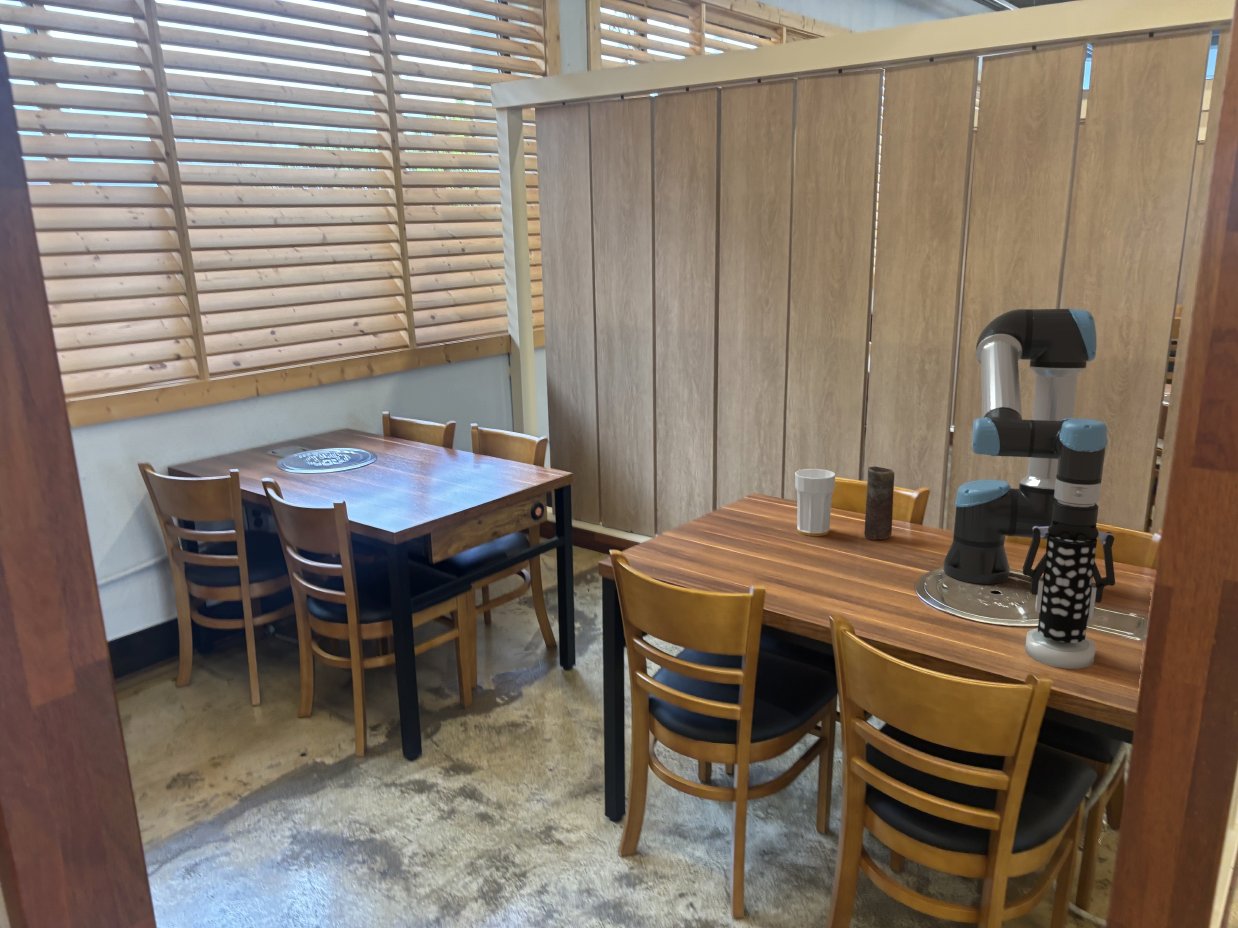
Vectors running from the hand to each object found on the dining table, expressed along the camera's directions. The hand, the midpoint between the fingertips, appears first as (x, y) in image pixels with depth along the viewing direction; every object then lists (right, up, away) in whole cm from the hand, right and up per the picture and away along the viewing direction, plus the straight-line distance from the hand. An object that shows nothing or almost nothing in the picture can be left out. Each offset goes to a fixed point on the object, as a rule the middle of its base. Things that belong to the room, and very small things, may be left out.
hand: (1063, 613), depth 161 cm
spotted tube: (0, -4, +1) cm, 5 cm away
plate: (0, -9, +2) cm, 9 cm away
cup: (-30, +9, +79) cm, 85 cm away
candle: (-13, +8, +73) cm, 75 cm away
